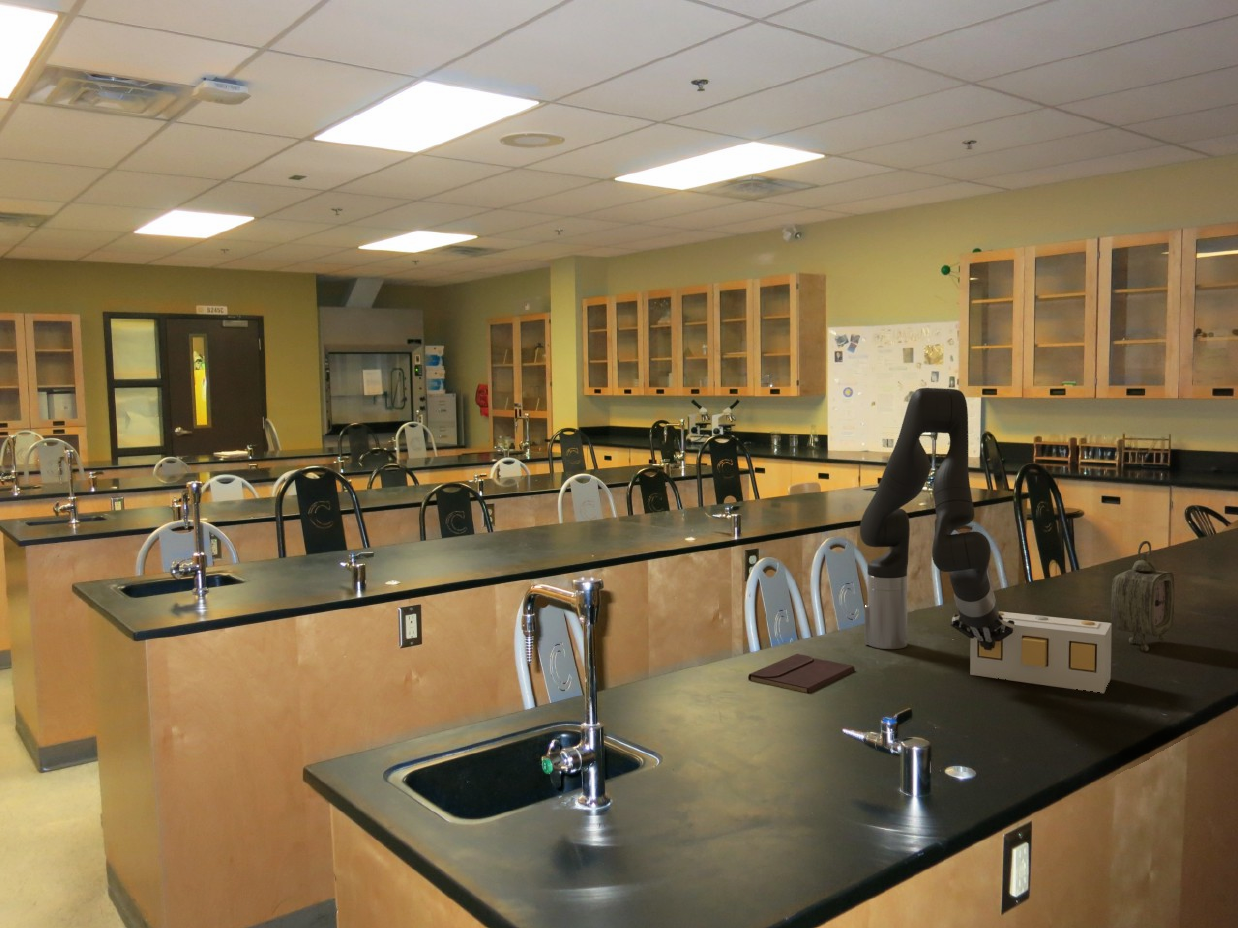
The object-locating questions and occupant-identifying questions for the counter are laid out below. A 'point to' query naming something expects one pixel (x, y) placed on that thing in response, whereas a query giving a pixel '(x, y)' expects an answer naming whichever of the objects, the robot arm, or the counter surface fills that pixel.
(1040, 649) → the middle button
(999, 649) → the button
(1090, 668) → the button
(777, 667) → the notebook
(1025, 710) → the counter surface
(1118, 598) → the tabletop clock
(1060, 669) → the button console
